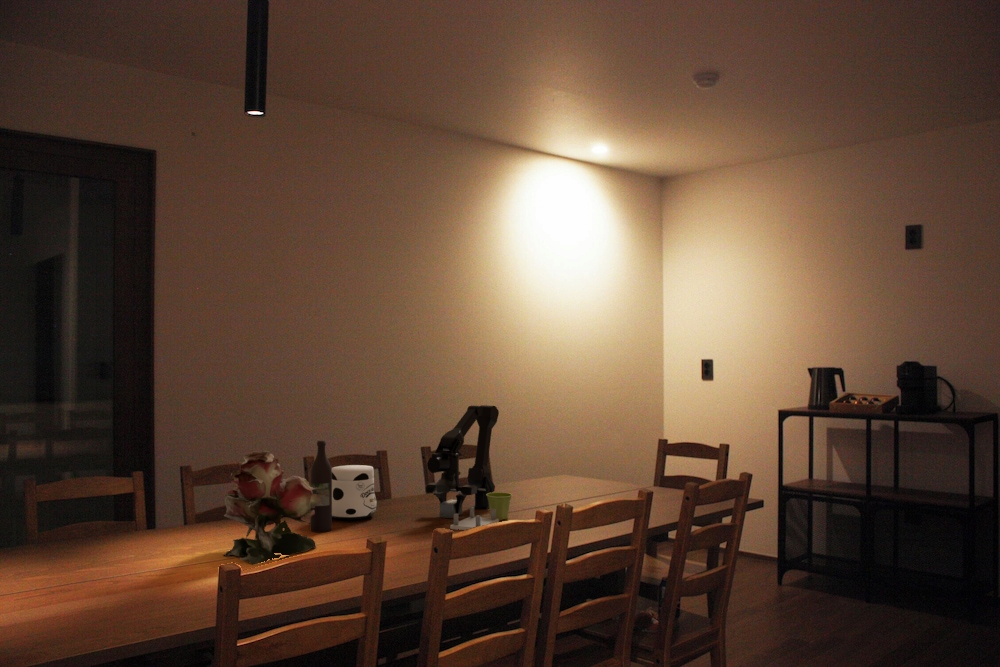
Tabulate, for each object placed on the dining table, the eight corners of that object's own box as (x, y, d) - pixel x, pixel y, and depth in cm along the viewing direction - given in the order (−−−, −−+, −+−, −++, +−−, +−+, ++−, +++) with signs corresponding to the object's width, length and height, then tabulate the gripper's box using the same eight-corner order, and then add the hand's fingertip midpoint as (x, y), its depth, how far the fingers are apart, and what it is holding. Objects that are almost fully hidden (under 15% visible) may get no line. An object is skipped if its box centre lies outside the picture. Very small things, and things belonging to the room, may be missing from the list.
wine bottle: (305, 531, 266) (306, 441, 267) (319, 527, 272) (320, 439, 273) (322, 533, 263) (322, 442, 263) (336, 529, 269) (336, 440, 270)
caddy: (470, 519, 284) (470, 506, 284) (498, 522, 279) (498, 508, 280) (450, 528, 269) (450, 514, 269) (480, 531, 265) (480, 517, 265)
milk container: (381, 520, 284) (381, 469, 284) (332, 524, 277) (332, 472, 278) (370, 511, 300) (370, 463, 300) (324, 515, 293) (324, 466, 294)
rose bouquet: (330, 545, 246) (330, 448, 247) (257, 566, 221) (258, 458, 222) (270, 536, 259) (271, 443, 260) (196, 555, 234) (196, 453, 235)
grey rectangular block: (449, 512, 296) (449, 498, 296) (462, 513, 294) (462, 499, 294) (439, 517, 288) (439, 503, 288) (452, 518, 286) (452, 503, 286)
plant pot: (513, 516, 290) (513, 492, 290) (511, 521, 281) (511, 496, 281) (487, 515, 291) (487, 492, 291) (484, 521, 282) (484, 496, 282)
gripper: (418, 471, 288) (418, 514, 287) (464, 474, 280) (464, 518, 280) (432, 467, 298) (432, 509, 297) (477, 469, 291) (477, 512, 290)
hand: (451, 512), depth 291 cm, fingers closed on grey rectangular block, 5 cm apart
